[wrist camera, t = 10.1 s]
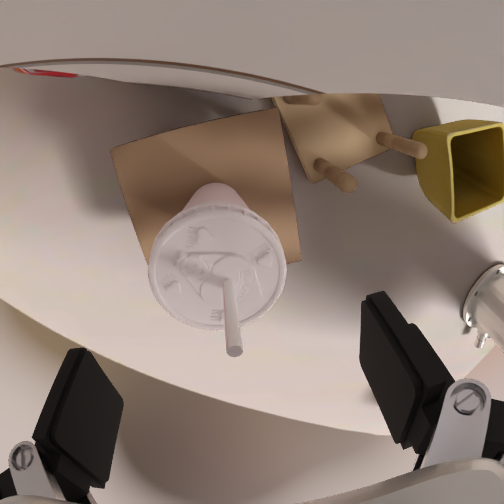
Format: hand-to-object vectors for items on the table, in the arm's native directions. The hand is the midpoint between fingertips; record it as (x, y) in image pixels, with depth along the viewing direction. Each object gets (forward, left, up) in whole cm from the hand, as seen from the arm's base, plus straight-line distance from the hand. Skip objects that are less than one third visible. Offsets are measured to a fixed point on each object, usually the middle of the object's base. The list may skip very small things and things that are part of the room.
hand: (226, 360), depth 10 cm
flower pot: (-1, -24, -23) cm, 34 cm away
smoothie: (0, 0, -15) cm, 15 cm away
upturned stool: (+4, -12, -23) cm, 27 cm away
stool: (0, +1, -23) cm, 23 cm away
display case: (+14, -1, -23) cm, 27 cm away
